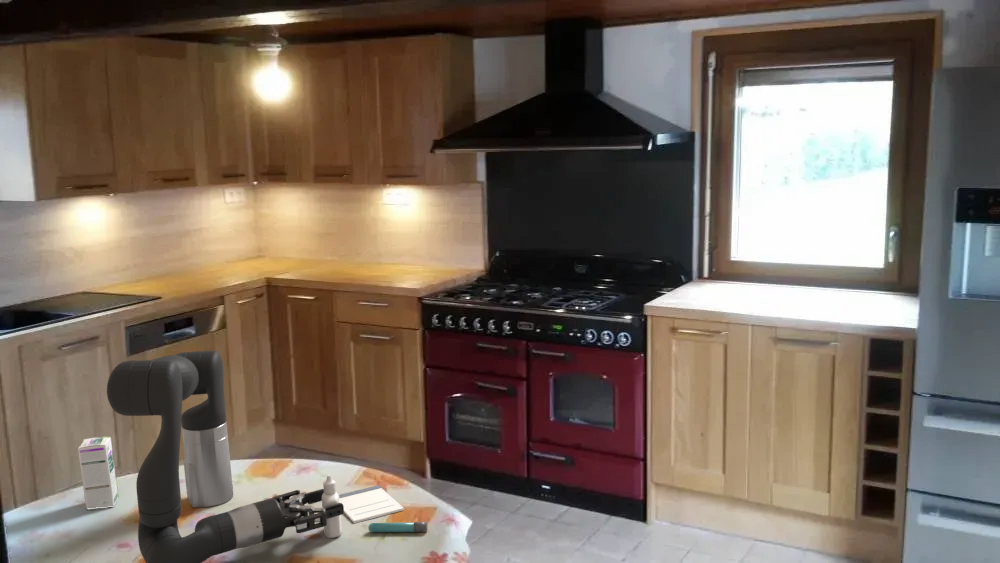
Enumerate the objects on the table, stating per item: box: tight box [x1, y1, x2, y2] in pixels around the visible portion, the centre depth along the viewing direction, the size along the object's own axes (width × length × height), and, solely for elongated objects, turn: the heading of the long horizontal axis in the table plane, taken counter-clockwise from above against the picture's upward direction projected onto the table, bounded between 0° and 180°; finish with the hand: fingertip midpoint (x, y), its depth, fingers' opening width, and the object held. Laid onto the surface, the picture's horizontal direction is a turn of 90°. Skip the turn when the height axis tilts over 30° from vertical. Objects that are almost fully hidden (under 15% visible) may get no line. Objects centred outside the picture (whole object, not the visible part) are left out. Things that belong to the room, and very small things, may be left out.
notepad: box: [338, 484, 405, 524], centre depth 189 cm, size 11×14×1 cm
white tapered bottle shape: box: [321, 474, 343, 539], centre depth 176 cm, size 4×6×12 cm
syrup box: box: [77, 436, 120, 509], centre depth 193 cm, size 6×6×14 cm
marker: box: [367, 521, 428, 533], centre depth 176 cm, size 12×2×2 cm, turn 87°
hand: (333, 500), depth 176 cm, fingers open, 8 cm apart
